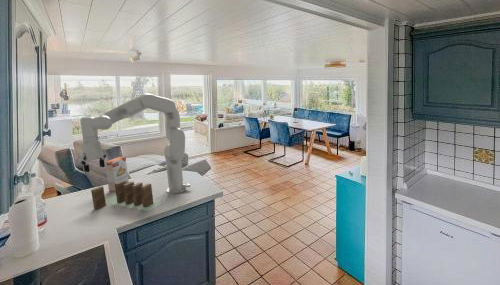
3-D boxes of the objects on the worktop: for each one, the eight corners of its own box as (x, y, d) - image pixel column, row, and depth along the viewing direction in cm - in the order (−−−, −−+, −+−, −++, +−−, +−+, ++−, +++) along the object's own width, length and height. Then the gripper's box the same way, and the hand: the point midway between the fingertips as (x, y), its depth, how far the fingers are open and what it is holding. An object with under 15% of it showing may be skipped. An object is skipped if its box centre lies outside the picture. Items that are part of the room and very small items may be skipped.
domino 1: (106, 206, 163) (103, 186, 161) (97, 210, 158) (94, 190, 155) (103, 205, 164) (100, 186, 162) (94, 209, 159) (91, 190, 156)
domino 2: (128, 199, 171) (125, 180, 168) (120, 203, 165) (117, 184, 163) (125, 199, 171) (122, 180, 169) (117, 202, 166) (114, 183, 164)
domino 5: (153, 203, 163) (151, 183, 161) (146, 207, 158) (143, 187, 155) (150, 202, 164) (147, 183, 162) (142, 206, 159) (140, 187, 156)
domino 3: (136, 200, 168) (133, 181, 166) (128, 204, 163) (126, 185, 160) (133, 200, 169) (130, 181, 167) (125, 204, 164) (122, 184, 161)
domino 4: (144, 201, 166) (142, 182, 163) (137, 206, 160) (134, 186, 158) (141, 201, 167) (139, 182, 164) (134, 205, 161) (131, 185, 159)
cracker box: (116, 192, 185) (112, 162, 181) (108, 192, 186) (104, 161, 182) (129, 185, 198) (125, 156, 194) (122, 184, 200) (118, 156, 195)
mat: (163, 202, 164) (163, 202, 164) (149, 211, 153) (149, 210, 153) (115, 195, 179) (115, 195, 178) (99, 203, 168) (99, 202, 168)
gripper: (99, 136, 163) (103, 164, 166) (71, 142, 147) (75, 173, 150) (109, 137, 160) (112, 165, 163) (81, 142, 144) (85, 174, 148)
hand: (95, 169), depth 157 cm, fingers open, 9 cm apart
